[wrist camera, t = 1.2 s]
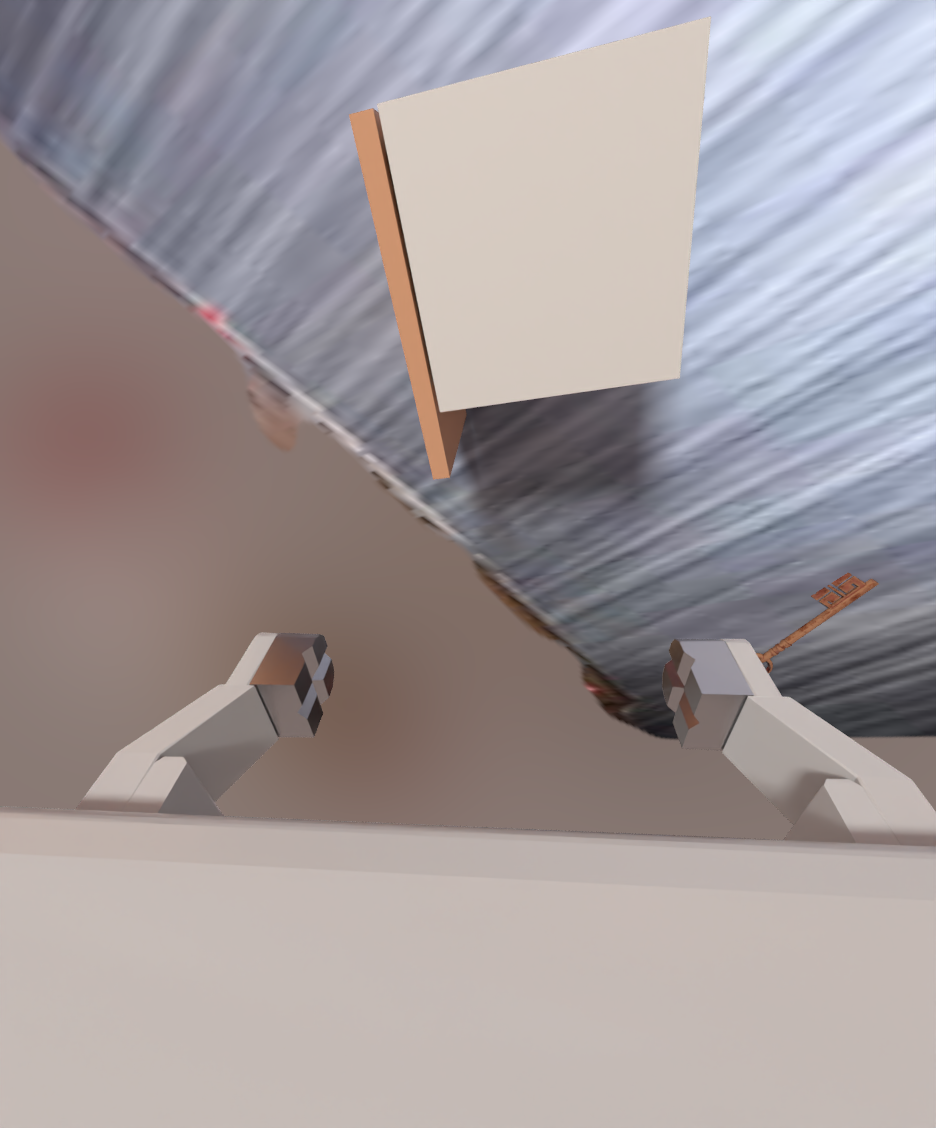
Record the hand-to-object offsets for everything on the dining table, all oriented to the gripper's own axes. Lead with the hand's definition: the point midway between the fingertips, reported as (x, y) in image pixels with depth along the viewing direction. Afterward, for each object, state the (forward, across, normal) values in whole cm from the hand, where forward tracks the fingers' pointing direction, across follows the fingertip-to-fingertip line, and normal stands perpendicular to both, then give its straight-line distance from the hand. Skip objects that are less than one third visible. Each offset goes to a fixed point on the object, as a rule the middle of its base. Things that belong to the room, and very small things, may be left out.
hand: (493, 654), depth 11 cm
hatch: (+28, +4, -4) cm, 29 cm away
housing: (+29, -2, -7) cm, 30 cm away
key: (+29, -29, +25) cm, 48 cm away
